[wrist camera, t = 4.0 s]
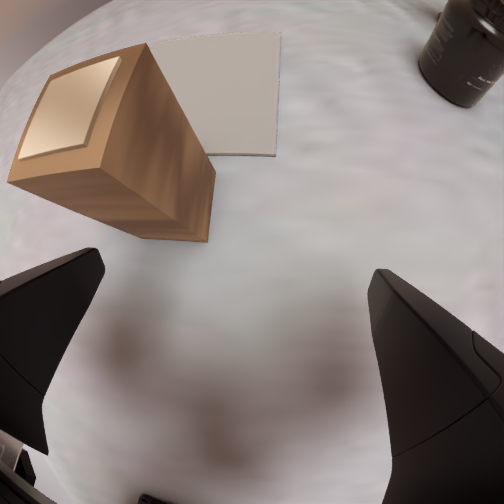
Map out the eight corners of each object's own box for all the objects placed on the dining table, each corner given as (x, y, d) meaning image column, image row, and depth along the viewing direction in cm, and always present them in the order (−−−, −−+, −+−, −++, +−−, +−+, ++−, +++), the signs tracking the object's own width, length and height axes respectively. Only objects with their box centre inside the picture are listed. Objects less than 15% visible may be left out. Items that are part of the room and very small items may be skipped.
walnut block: (207, 242, 17) (95, 164, 5) (141, 238, 17) (2, 180, 6) (215, 172, 17) (144, 39, 6) (152, 173, 18) (47, 73, 6)
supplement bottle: (468, 122, 16) (541, 42, 4) (407, 72, 17) (454, -30, 5) (480, 89, 16) (534, 20, 4) (428, 46, 17) (466, -34, 5)
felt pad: (275, 156, 17) (275, 154, 17) (111, 160, 18) (109, 159, 18) (280, 34, 18) (280, 32, 18) (153, 45, 20) (152, 43, 19)
